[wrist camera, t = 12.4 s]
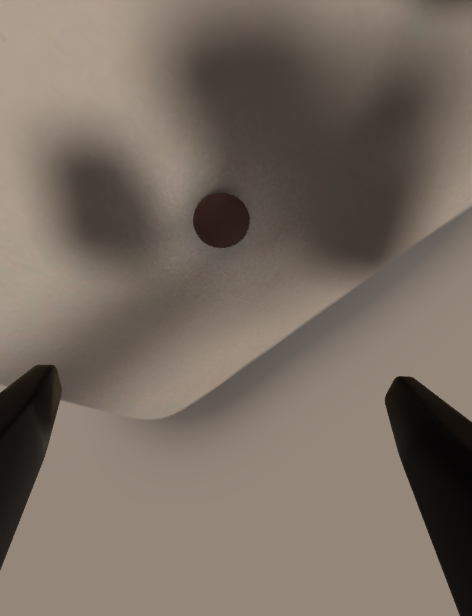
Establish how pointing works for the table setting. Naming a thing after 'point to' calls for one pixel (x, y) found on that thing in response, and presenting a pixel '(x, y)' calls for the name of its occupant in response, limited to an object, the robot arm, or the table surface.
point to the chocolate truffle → (221, 220)
